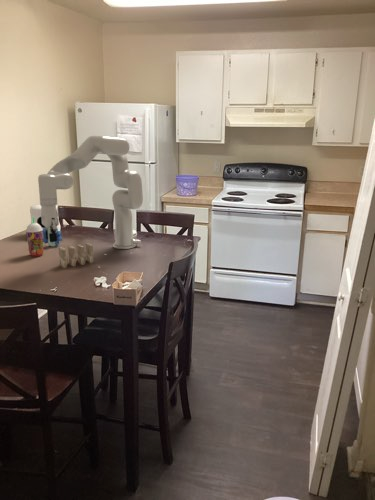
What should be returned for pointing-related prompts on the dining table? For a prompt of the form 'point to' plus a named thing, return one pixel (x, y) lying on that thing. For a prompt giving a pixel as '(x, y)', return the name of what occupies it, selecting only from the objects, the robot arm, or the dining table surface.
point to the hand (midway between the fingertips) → (51, 239)
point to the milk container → (36, 213)
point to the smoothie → (35, 239)
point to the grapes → (57, 237)
